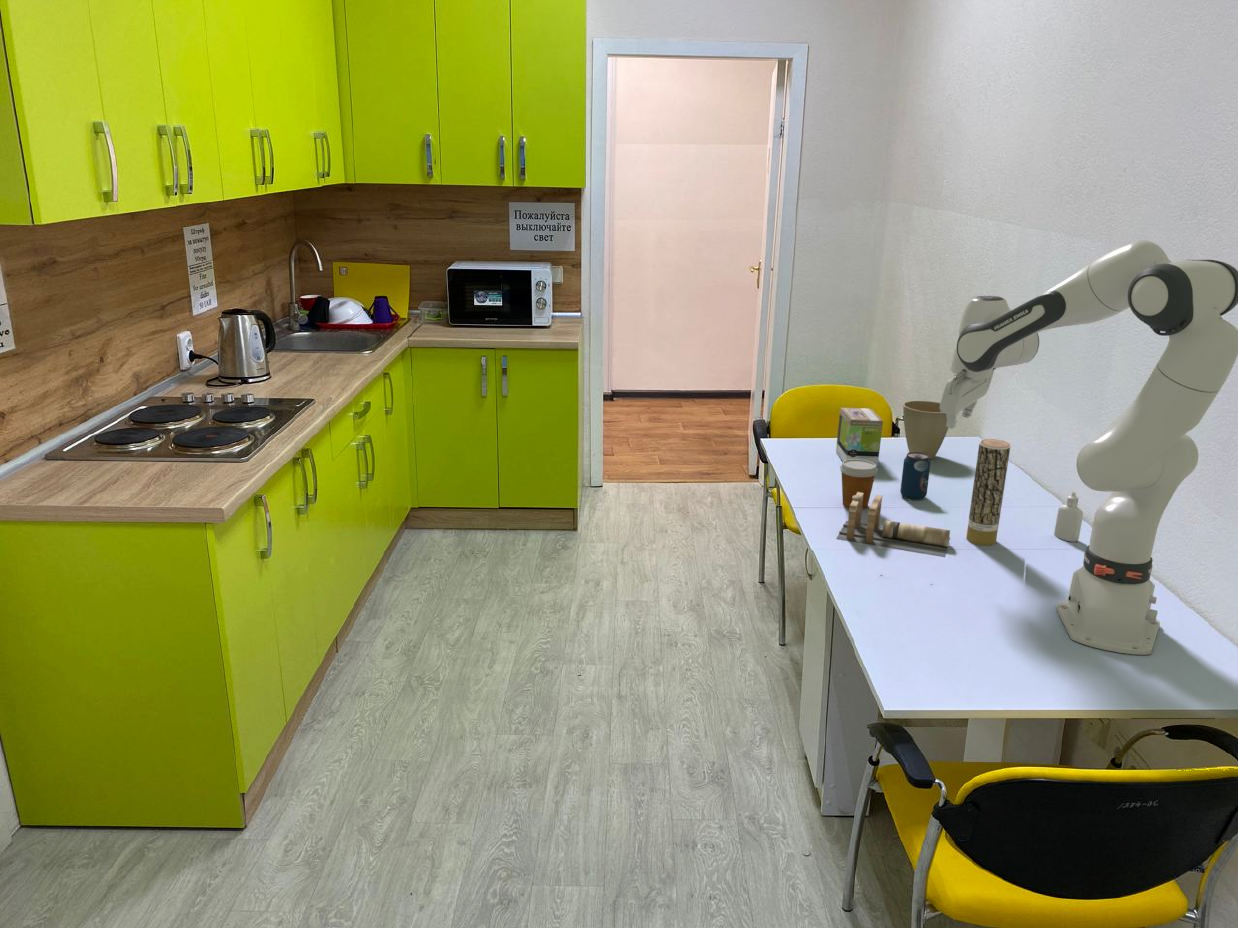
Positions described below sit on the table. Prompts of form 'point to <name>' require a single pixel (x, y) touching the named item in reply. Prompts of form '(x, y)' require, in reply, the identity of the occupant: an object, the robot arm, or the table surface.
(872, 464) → the disposable coffee cup
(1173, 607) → the table surface
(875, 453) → the tea box
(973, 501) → the paper tube
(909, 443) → the plant pot
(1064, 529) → the eye dropper bottle
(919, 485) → the soda can
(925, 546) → the collar stand
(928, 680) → the table surface
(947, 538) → the wooden roller
